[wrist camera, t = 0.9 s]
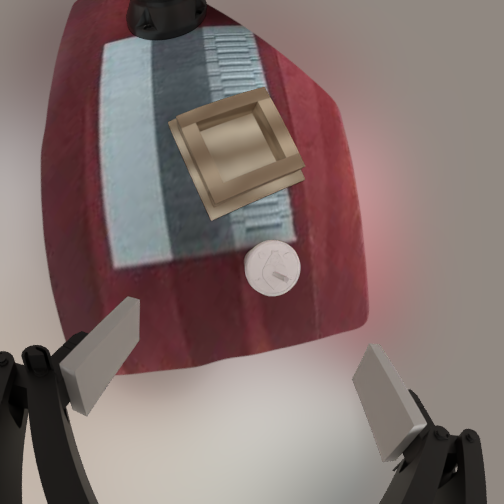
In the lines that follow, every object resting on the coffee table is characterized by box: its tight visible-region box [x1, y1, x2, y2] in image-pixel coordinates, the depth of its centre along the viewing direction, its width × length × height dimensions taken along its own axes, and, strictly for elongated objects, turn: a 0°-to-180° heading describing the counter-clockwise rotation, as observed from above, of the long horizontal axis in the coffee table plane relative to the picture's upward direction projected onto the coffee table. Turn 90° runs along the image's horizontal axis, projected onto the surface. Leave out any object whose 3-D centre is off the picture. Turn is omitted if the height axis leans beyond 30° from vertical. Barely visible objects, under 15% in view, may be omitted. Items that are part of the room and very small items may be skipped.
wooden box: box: [168, 87, 305, 221], centre depth 36 cm, size 16×15×6 cm
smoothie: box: [244, 240, 300, 296], centre depth 33 cm, size 6×6×14 cm
